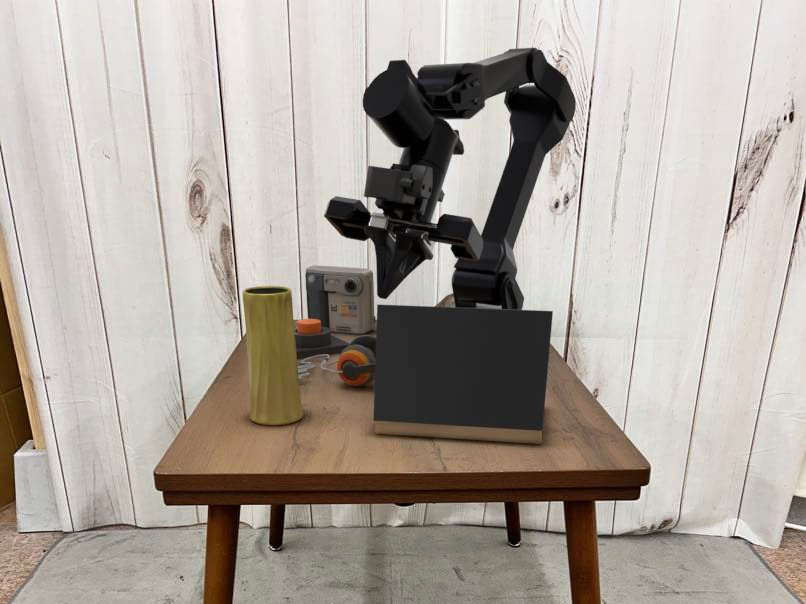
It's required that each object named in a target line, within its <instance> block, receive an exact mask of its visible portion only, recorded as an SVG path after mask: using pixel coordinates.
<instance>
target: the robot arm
mask: <svg viewBox="0 0 806 604" xmlns="http://www.w3.org/2000/svg"><path fill="white" fill-rule="evenodd" d="M416 74H417V77H416V75H415V74H414V72H413V70H412V68H411V66H410V64H409V63H408V62H407V60H406V59H394V60H393V59H392V60H390V61H389V62H388V65H387V68H386V69H385V70H384V71H382V72H380V73H379V74H378V75H377V76H375V77H374V78H373V80H372V81H371V82H370V83H369V84H368V86H367V87H366V88H365V89H364V93H363V96H362V108H363V111H364V112H365V114H366V116H367V117H369V119H370V120H371V121H372V123H374V125H375V126H376V127H377V128H378V129H379V130H380V131H381V133H382V134H383V135H384V136H385V137H386V138H387V139H388V140H389V142H390V143H391V144H392V145H394V147H396V148H399V149H400V148H401V149H402V151H401V155H400V159H399V161H398V163H392V165H391V166H390V167H381V166H375V165H367V171H366V180H365V185H364V193H363V197H364V198H367V199H369V198H371V199H372V198H373V199H375V201H374V205H375V207H377V209H378V210H382V213H381V212H374V211H371V212H370V211H369V209H368V208H367V207H366V206H365V204H364V203H363V201H362V200H361V199H355V198H351V197H343V196H337V195H335V196H334V197H333V198H331V199H330V200H329V201H328V202H327V204H326V208H325V210H324V214H323V217H324V218H325V219H326V220H327V221H328V223H329V224H330V225H331V226H332V227H333V228H334V229H335V231H337V233H338V234H339V235H340V236H342V237H343V238H346V239H350V240H356V241H361V242H366V241H367V240H369V239H370V241H371V242H372V243H373V246H374V251H375V262H376V263H375V264H376V295H377V297H378V298H379V299H382V300H387V299H388V298H389V297H390V296H391V295H392V293H393V292H394V291H395V290H396V289H397V288H398V287H399V286H400V285H401V284H402V282H403V281H405V279H406V278H407V277H408V276H409V275H410V274H411V273H412V272H413V271H415V270H416V269H417V268H418V267H420V265H421V264H423V262H425V261H427V260H428V261H432V260H433V258H434V254H433V248H434V246H435V243H440V244H445V245H450V251H451V252H452V254H453V256H454V258H455V259H456V262H455V263H454V265H453V269H454V270H453V273H452V275H451V289H452V293H453V295H454V301H455V307H459V308H485V309H512V310H523V307H524V302H525V296H524V294H523V292H522V290H521V287H520V286H519V284H518V282H517V279H516V278H517V274H518V266H517V262H516V258H515V254H514V248H515V245H516V242H517V239H518V236H519V233H520V230H521V227H522V224H523V222H524V218H525V215H526V213H527V210H528V208H529V204H530V202H531V198H532V196H533V192H534V190H535V187H536V183H537V181H538V178H539V175H540V173H541V170H542V167H543V163H544V160H545V158H546V155H547V154H548V153H550V152H551V150H553V149H554V148H555V147H556V146H557V145H558V144H559V143H560V142H561V141H562V140H563V139H564V138H565V135H566V133H567V132H568V131H567V130H568V129H569V126H570V125H571V121H573V119H574V116H575V113H576V106H577V103H576V101H577V100H576V96H575V94H574V91H573V89H572V87H571V85H570V82H569V80H568V79H567V77H566V75H564V74H563V72H561V71H559V70H558V69H557V68H555V66H553V65H552V64H550V62H548V60H547V58H546V56H545V53H544V51H542V49H539V48H537V47H521V48H519V47H518V48H510V49H508V50H507V51H506V50H505V51H504V52H503V53H500V54H497V55H494V56H491V57H488V58H484V59H482V60H481V59H480V60H478V61H475V62H459V63H440V64H439V63H438V64H437V63H436V64H425V65H423V66H421V67H420V68H419V69H418V71H417V73H416ZM503 93H504V100H503V104H504V105H505V107H506V109H507V111H508V112H509V119H508V123H509V126H510V130H511V135H512V139H513V141H512V144H511V146H510V149H509V153H508V156H507V159H506V162H505V165H504V167H503V170H502V173H501V176H500V178H499V181H498V185H497V188H496V190H495V194H494V196H493V199H492V202H491V205H490V208H489V210H488V214H487V217H486V219H485V222H484V225H483V228H482V231H481V233H480V231H479V230H478V227H477V226H476V224H475V222H474V221H473V219H472V217H469V216H461V215H456V214H448V213H443V214H441V216H439V217H438V220H437V223H434V222H432V220H433V217H434V214H435V211H436V208H437V204H438V203H439V202H440V203H443V201H444V198H445V192H444V190H443V186H444V183H445V180H446V177H447V174H448V171H449V167H450V164H451V161H452V159H453V156H463V155H464V154H465V149H464V148H465V147H464V142H463V141H462V140H461V137H460V131H459V129H454V128H453V127H452V126H451V125H450V123H449V122H448V121H449V120H470V119H472V118H474V117H475V116H476V115H478V113H480V112H481V111H482V110H483V109H484V108H485V106H486V101H488V99H490V98H493V97H494V96H498V95H501V94H503ZM447 120H448V121H447Z"/></svg>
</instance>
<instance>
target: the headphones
mask: <svg viewBox="0 0 806 604" xmlns="http://www.w3.org/2000/svg"><path fill="white" fill-rule="evenodd" d="M319 357H325V358H324V359H323V361H322V362H321V364H320V368H321V369H322V370H324V371H328V372H329V371H330V372H331V373H333V374H338V376H339V378H340V379H341V380H342V381H343V383H345V384H347V385H349V386H356V387H364V386H367V385H368V384H370V383H371V382H373V380H375V359H376V336H374V335H370V334H360V335H359V336H356V337H355V338H354V339H352V340H351V341H350V342H349V346H348V347H347V348H345V349H344V350H343V351H342V352H341V353H339V355H338V359H337V360H334V361H332V362H328V361H329V359H330V355H328V354H323V355H317V356H313V357H309V358H303V359H302V360H300V364H303V365H297V366H298V376H299V380H302V379H303V378H304V377H309V376H311V373H310V372H308V370H312V369H314V368H316V364H312V362H311V361H308V360H311V359H315V358H319ZM334 364H336V370H333V369H332V368H326V367H323V365H334Z"/></svg>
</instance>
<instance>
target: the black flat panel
mask: <svg viewBox="0 0 806 604" xmlns="http://www.w3.org/2000/svg"><path fill="white" fill-rule="evenodd" d="M553 314H554V311H553V310H536V309H535V310H533V309H522V310H512V309H485V308H459V307H434V306H433V305H432V306H431V305H430V306H428V305H427V306H426V305H404V304H403V305H402V304H401V305H400V304H377V305H376V329H375V330H376V331H375V332H376V333H375V334H376V335H375V337H376V359H375V378H374V388H373V389H374V390H373V393H374V394H373V419H372V420H373V421H374V422H375V421H389V422H405V423H421V424H437V425H454V426H470V427H486V428H502V429H519V430H535V431H542V432H543V429H544V418H545V407H546V396H547V395H546V394H547V382H548V373H549V360H550V349H551V348H550V347H551V339H552V338H551V337H552V326H553Z"/></svg>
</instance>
